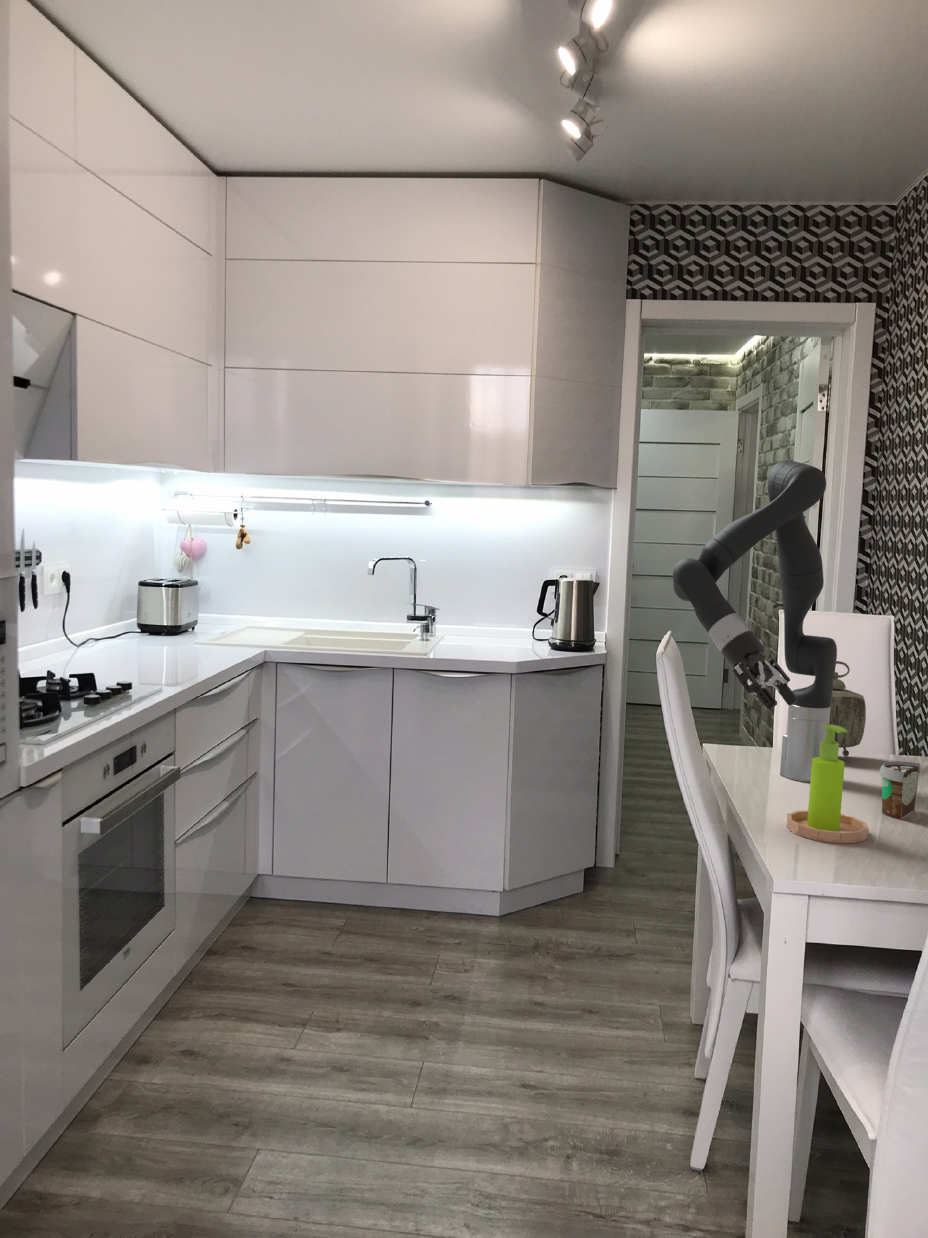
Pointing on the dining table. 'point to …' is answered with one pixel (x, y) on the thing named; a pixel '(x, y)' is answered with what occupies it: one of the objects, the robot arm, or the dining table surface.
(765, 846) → the dining table surface
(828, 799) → the soap dispenser
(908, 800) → the food container
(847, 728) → the tabletop clock
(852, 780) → the dining table surface
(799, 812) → the terracotta dish
